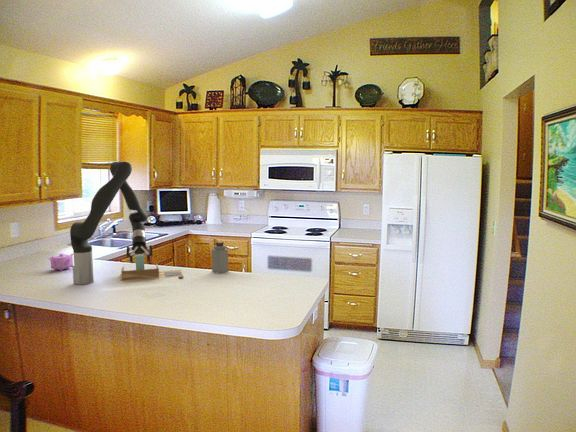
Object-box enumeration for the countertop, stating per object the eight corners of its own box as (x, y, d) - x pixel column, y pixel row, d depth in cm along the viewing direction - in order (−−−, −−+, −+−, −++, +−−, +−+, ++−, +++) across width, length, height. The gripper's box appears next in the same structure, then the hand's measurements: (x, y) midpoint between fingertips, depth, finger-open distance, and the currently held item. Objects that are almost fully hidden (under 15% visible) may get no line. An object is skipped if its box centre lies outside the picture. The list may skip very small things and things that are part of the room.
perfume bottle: (220, 273, 264) (219, 243, 262) (212, 271, 268) (211, 242, 266) (228, 271, 270) (227, 241, 268) (220, 269, 274) (219, 240, 272)
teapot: (56, 273, 264) (55, 257, 263) (42, 271, 270) (41, 255, 269) (82, 267, 280) (82, 252, 279) (68, 265, 286) (68, 250, 285)
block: (136, 275, 254) (135, 254, 253) (144, 274, 256) (143, 254, 254) (136, 277, 250) (135, 256, 249) (144, 276, 252) (143, 255, 250)
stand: (120, 276, 257) (119, 265, 256) (180, 271, 268) (180, 261, 267) (119, 283, 242) (118, 272, 241) (183, 278, 253) (183, 267, 252)
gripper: (125, 235, 258) (126, 259, 248) (151, 234, 262) (153, 257, 253) (126, 243, 263) (127, 266, 254) (151, 242, 268) (153, 264, 258)
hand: (140, 261), depth 253 cm, fingers open, 8 cm apart
